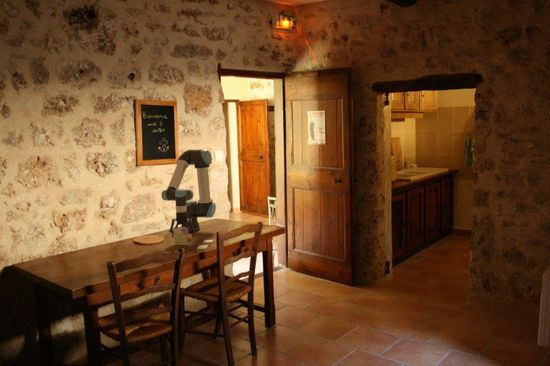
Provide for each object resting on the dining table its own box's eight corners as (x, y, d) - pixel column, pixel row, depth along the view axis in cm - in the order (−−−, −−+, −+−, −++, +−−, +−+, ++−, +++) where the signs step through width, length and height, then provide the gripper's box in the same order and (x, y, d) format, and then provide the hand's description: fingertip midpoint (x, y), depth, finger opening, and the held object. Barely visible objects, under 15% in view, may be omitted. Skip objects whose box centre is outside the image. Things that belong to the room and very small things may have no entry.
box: (190, 243, 361) (190, 227, 359) (188, 245, 355) (188, 228, 354) (176, 243, 362) (175, 226, 360) (174, 245, 356) (173, 228, 355)
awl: (188, 246, 353) (187, 233, 352) (192, 246, 353) (192, 233, 352) (186, 247, 350) (186, 234, 349) (191, 247, 349) (190, 234, 348)
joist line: (205, 240, 367) (205, 239, 367) (213, 241, 366) (213, 239, 366) (197, 249, 344) (197, 248, 344) (205, 249, 343) (205, 248, 343)
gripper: (163, 212, 353) (165, 243, 356) (195, 212, 350) (197, 243, 353) (167, 210, 360) (168, 240, 363) (198, 210, 358) (199, 241, 361)
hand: (182, 242), depth 358 cm, fingers closed on box, 10 cm apart
